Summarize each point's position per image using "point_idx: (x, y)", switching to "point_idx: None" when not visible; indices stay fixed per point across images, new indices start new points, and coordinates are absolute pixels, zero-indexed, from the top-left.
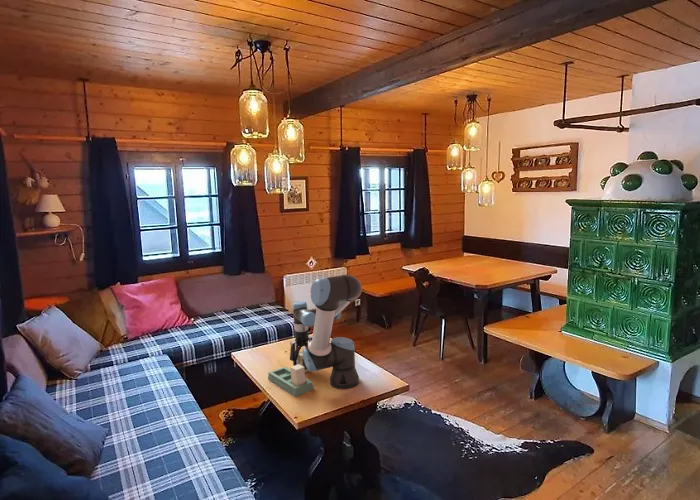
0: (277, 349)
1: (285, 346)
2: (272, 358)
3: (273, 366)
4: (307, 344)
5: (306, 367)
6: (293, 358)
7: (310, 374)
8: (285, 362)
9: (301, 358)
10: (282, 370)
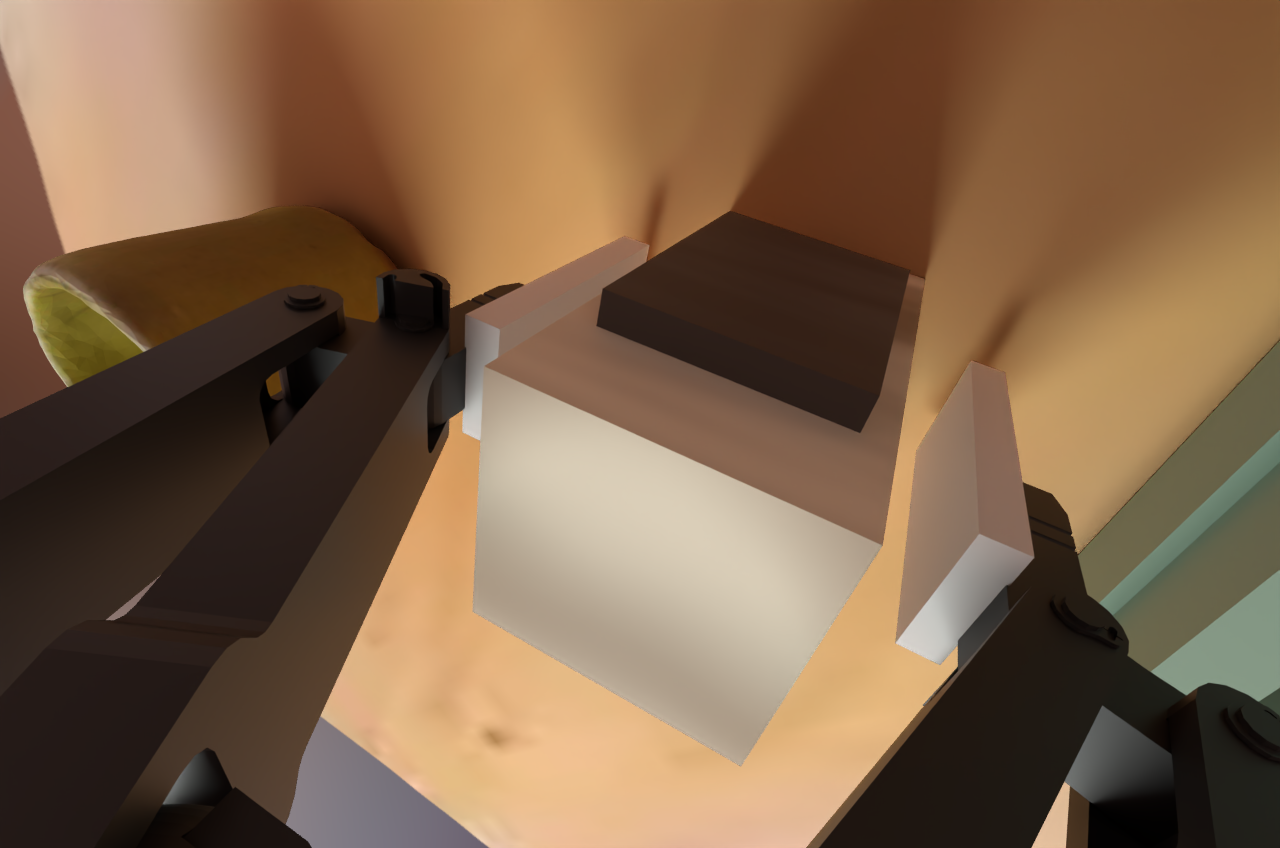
0: (517, 803)
1: (441, 757)
2: (682, 821)
3: None
4: (35, 772)
5: (815, 251)
6: (1246, 781)
7: (914, 42)
8: None
9: (887, 479)
10: (1274, 703)
